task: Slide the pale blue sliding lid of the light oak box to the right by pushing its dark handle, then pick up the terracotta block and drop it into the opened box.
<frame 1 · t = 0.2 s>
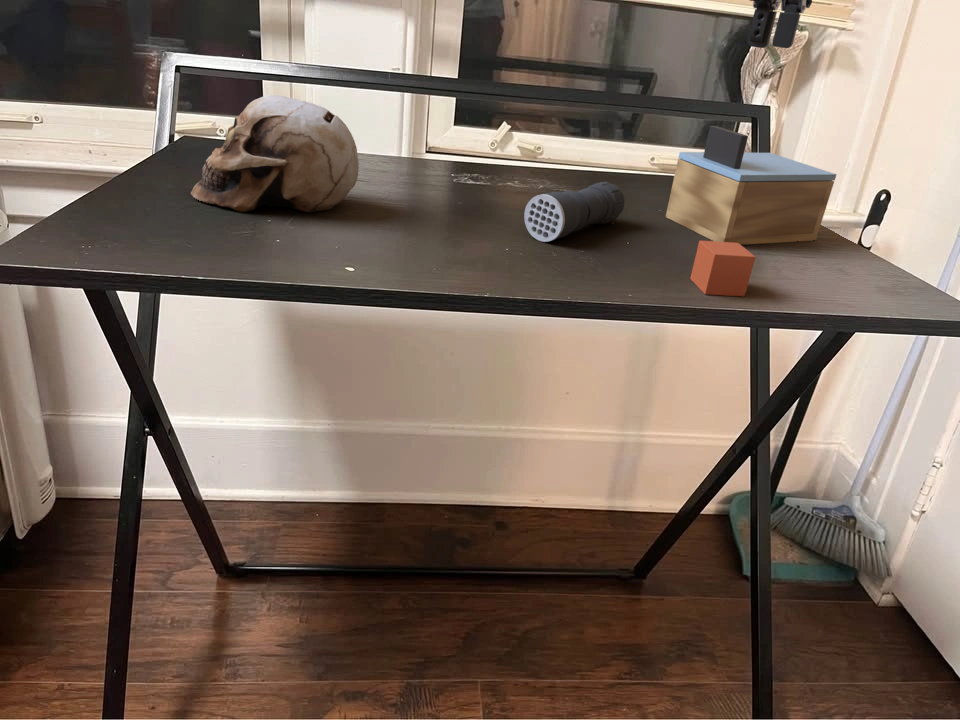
hand: (769, 47, 86), 23 cm above the table, tool pointing down, fingers open, 8 cm apart
sliding lid: (760, 150, 97), point 11 cm above the table, slide at 0.0 cm
oak box: (739, 228, 101), on the table
block: (716, 287, 79), on the table
flashlight: (573, 232, 93), on the table
beige skull model: (274, 203, 91), on the table
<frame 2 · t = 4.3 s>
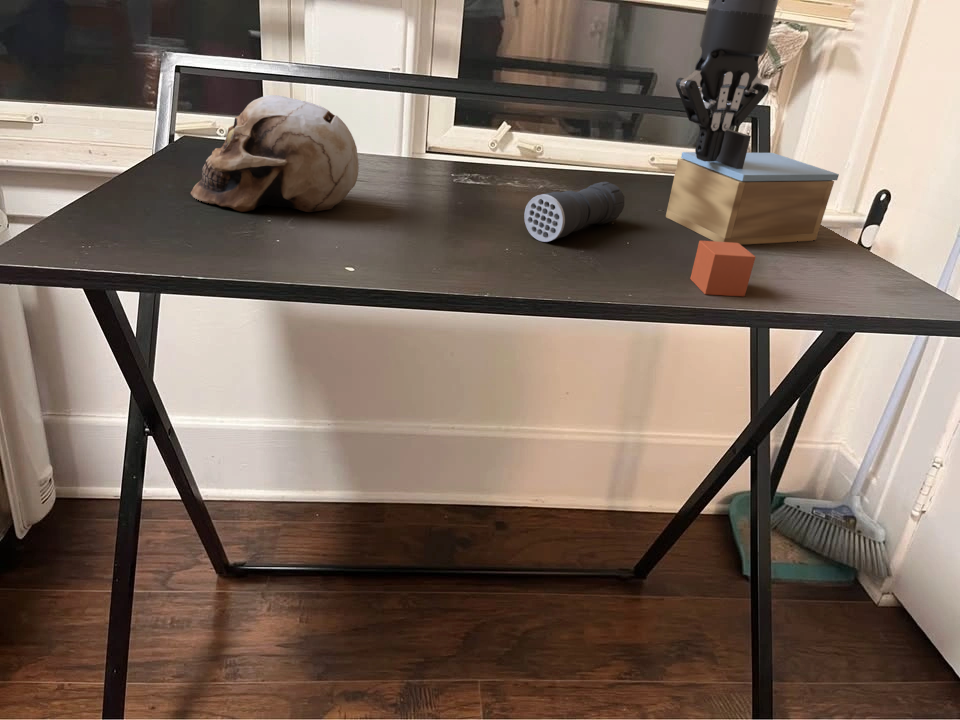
hand: (705, 159, 94), 9 cm above the table, tool pointing down, fingers closed
sliding lid: (762, 150, 97), point 11 cm above the table, slide at 0.4 cm, touching gripper
everything else where it was.
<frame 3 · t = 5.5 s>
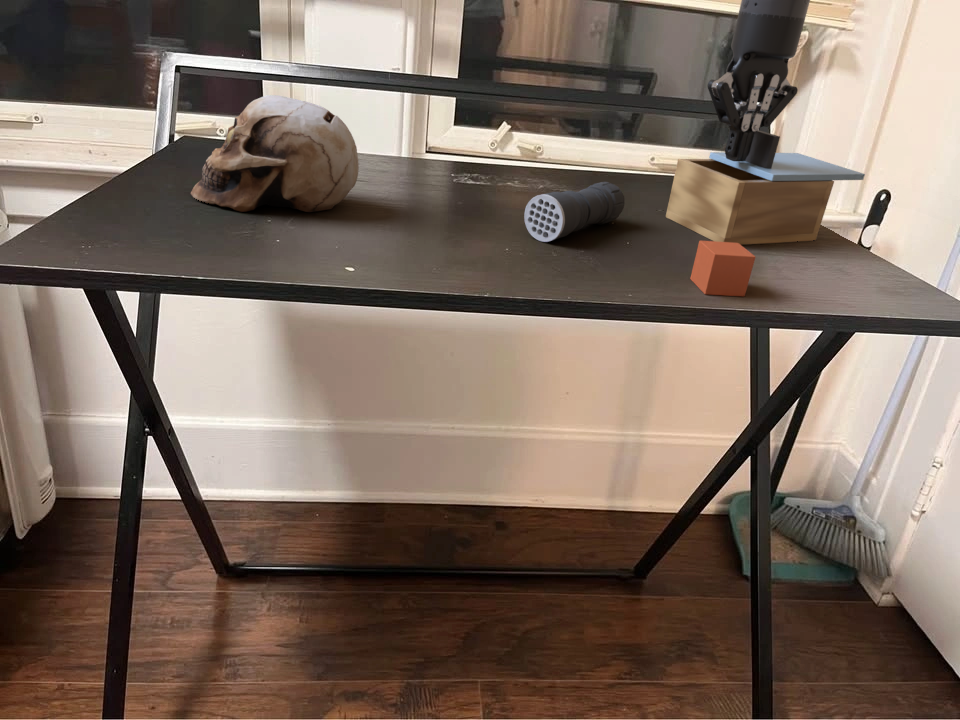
hand: (735, 160, 95), 9 cm above the table, tool pointing down, fingers closed
sliding lid: (789, 150, 99), point 11 cm above the table, slide at 5.2 cm, touching gripper
everything else where it was.
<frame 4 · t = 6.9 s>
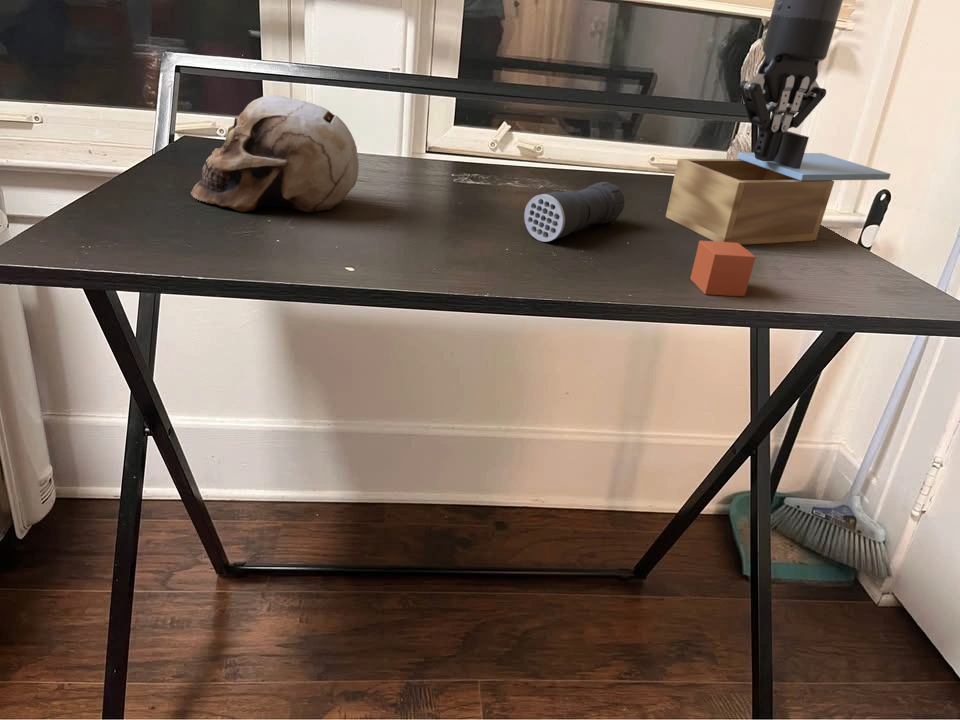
hand: (764, 159, 97), 9 cm above the table, tool pointing down, fingers closed
sliding lid: (816, 151, 101), point 11 cm above the table, slide at 10.1 cm, touching gripper
everything else where it was.
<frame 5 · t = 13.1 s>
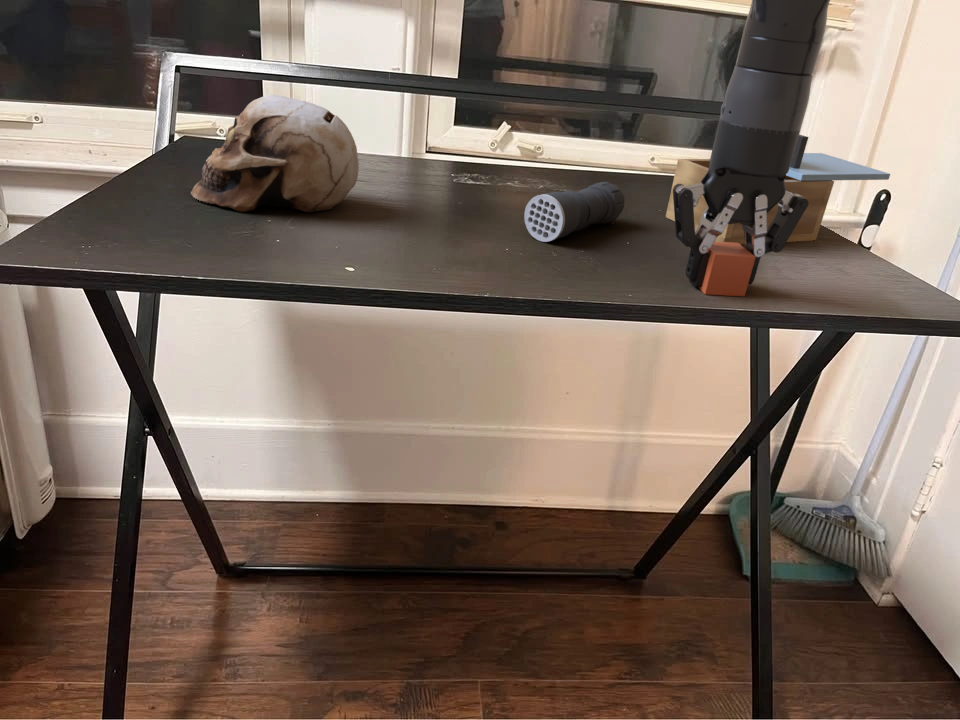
hand: (717, 284, 79), 0 cm above the table, tool pointing down, fingers closed on block, 4 cm apart
sliding lid: (816, 151, 101), point 11 cm above the table, slide at 10.0 cm
block: (716, 287, 79), on the table, touching gripper
everything else where it was.
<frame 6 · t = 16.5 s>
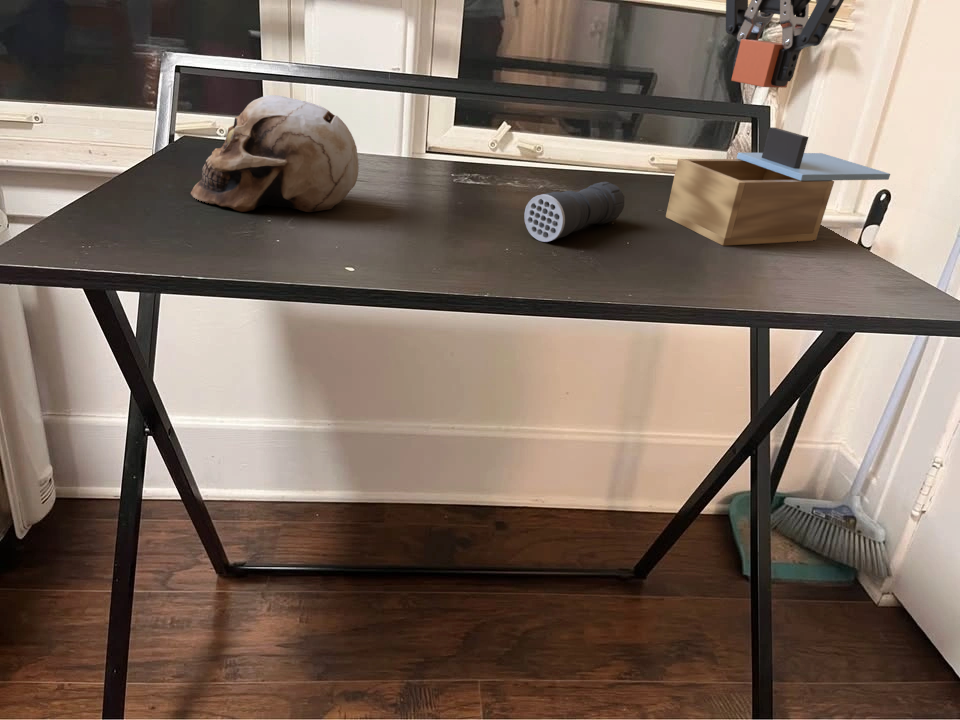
hand: (759, 81, 84), 20 cm above the table, tool pointing down, fingers closed on block, 4 cm apart
block: (758, 84, 85), point 19 cm above the table, touching gripper
everything else where it was.
when the fingers open (9 cm above the table, at t = 19.8 s): block drops 8 cm, resting on oak box.
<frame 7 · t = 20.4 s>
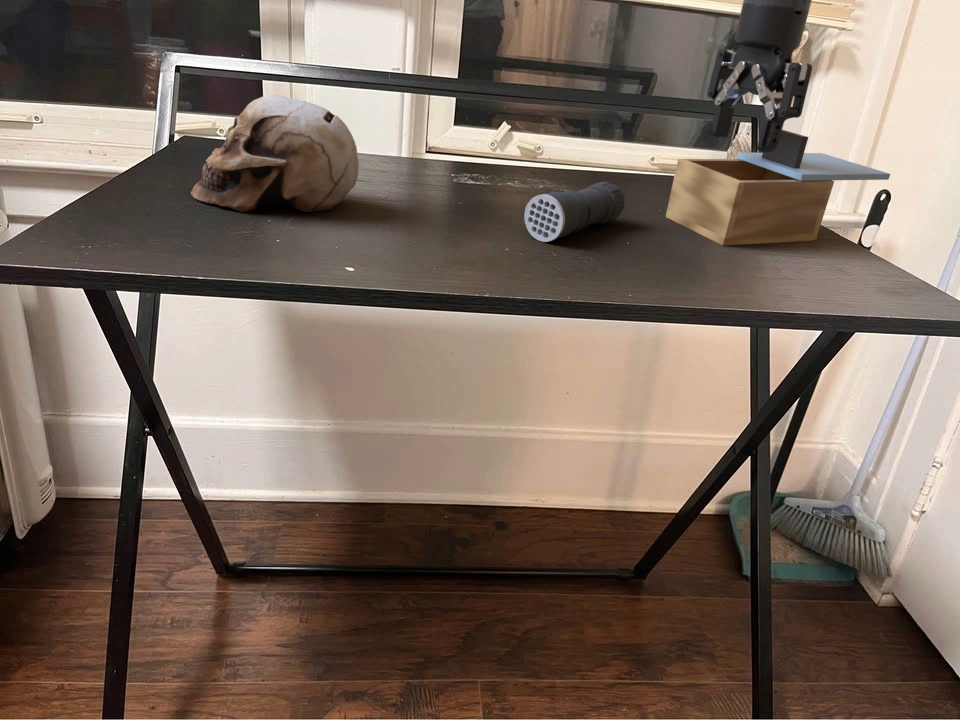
hand: (741, 143, 95), 11 cm above the table, tool pointing down, fingers open, 8 cm apart
block: (720, 222, 99), point 1 cm above the table, touching oak box
everything else where it was.
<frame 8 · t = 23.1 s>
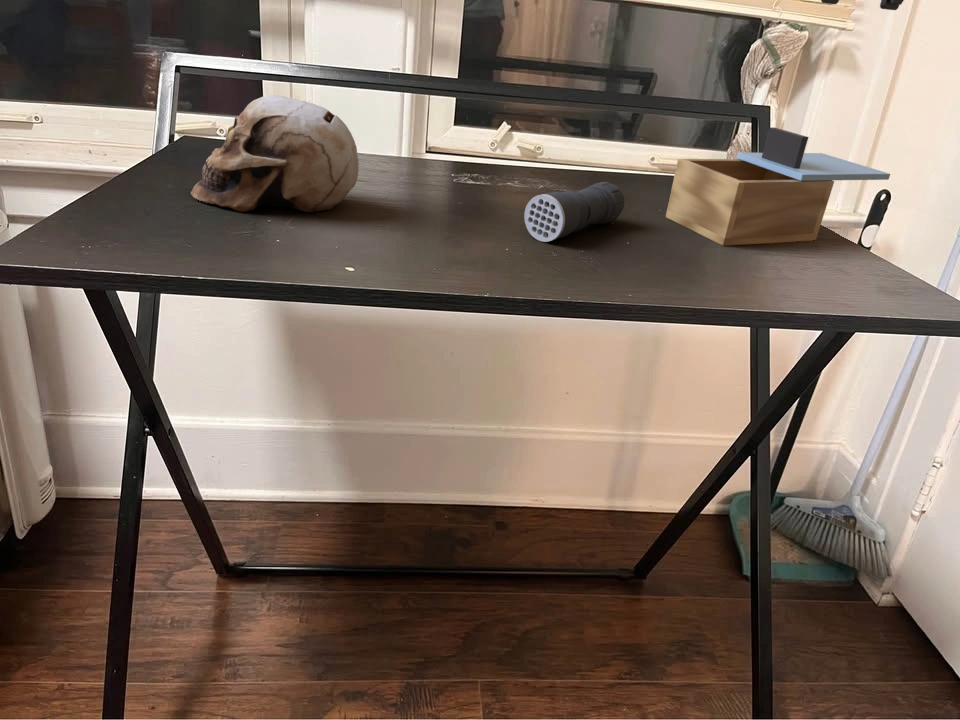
hand: (857, 6, 86), 28 cm above the table, tool pointing down, fingers open, 8 cm apart
nothing on the table moved.
at the end: sliding lid slide at 10.0 cm; block inside the target area on the oak box (3.5 cm from its centre), point 1.0 cm above the oak box's base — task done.
